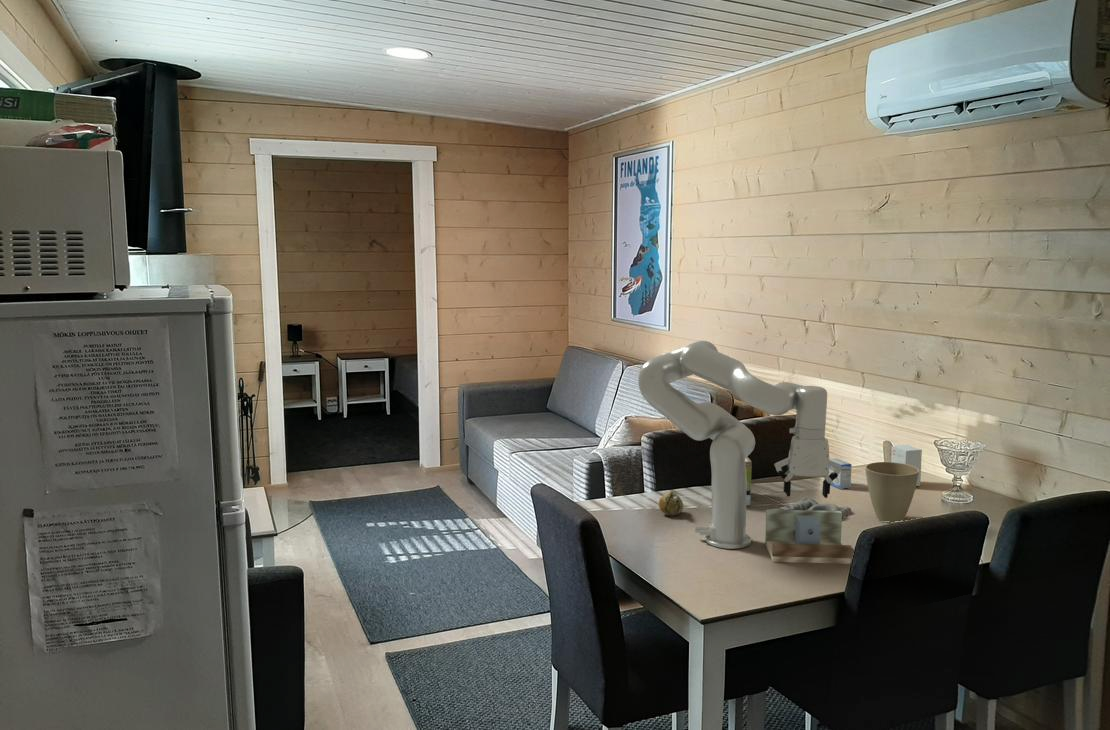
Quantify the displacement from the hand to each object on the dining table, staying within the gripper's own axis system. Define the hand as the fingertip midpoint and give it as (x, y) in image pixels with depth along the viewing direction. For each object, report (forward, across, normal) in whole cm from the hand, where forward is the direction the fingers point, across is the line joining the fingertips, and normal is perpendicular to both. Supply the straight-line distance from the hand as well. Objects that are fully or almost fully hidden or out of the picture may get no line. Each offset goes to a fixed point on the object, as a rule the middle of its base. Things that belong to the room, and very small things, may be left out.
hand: (806, 495), depth 220 cm
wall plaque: (+17, +9, +31) cm, 37 cm away
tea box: (+17, -14, +48) cm, 53 cm away
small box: (+16, +47, +68) cm, 84 cm away
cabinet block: (+15, +1, 0) cm, 15 cm away
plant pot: (+16, +31, +30) cm, 46 cm away
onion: (+18, -34, +31) cm, 49 cm away
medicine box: (+16, +24, +65) cm, 71 cm away
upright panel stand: (+16, +1, 0) cm, 16 cm away
